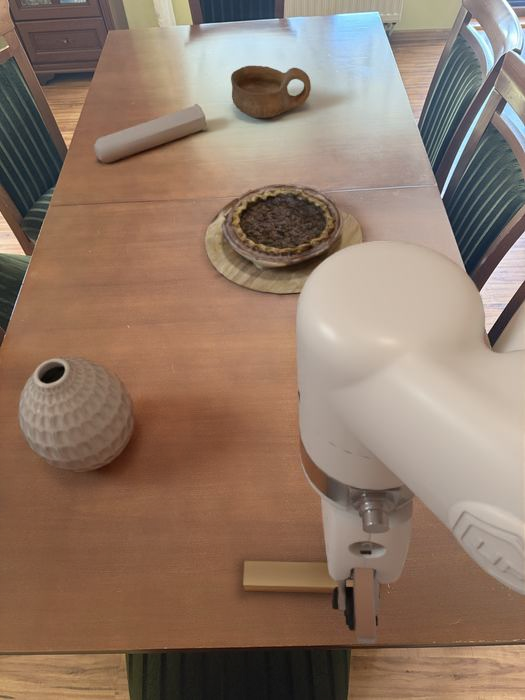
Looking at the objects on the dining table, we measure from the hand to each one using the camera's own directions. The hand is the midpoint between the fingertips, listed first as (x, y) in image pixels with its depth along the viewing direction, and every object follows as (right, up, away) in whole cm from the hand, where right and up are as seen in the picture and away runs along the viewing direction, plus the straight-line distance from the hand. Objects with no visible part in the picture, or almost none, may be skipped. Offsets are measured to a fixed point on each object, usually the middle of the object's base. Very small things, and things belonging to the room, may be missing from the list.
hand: (348, 541), depth 42 cm
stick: (-3, -10, +14) cm, 17 cm away
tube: (-32, +61, +71) cm, 99 cm away
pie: (-4, +36, +49) cm, 61 cm away
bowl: (-5, +72, +78) cm, 106 cm away
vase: (-29, +3, +26) cm, 39 cm away
